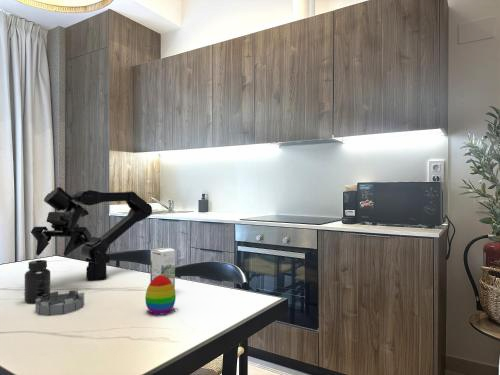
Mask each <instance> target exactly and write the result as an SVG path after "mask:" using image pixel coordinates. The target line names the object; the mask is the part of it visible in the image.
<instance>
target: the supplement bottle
mask: <svg viewBox="0 0 500 375" xmlns="http://www.w3.org/2000/svg"><path fill="white" fill-rule="evenodd" d="M47 267H48V261H47V260H44V259H39V260H38V259H37V260H31V261H29V262H28V267H27V268H28V270H27V271H26V272H25V273H24V302H25V303H26V304H30V305H31V304H32V305H33V304H35V303H36V298H37V297H40V296H43V298H44V297H46V296H49V292H51V271H50V269H48V268H47Z"/></svg>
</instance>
